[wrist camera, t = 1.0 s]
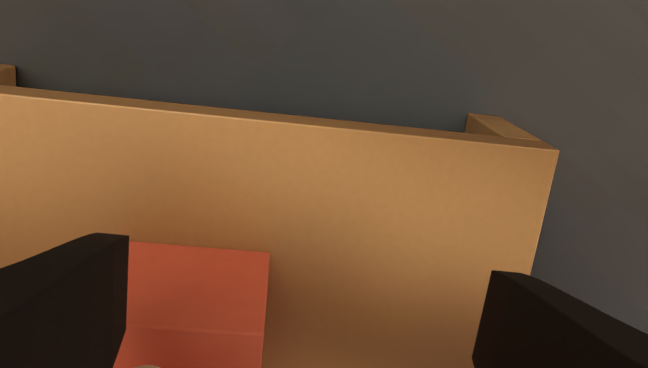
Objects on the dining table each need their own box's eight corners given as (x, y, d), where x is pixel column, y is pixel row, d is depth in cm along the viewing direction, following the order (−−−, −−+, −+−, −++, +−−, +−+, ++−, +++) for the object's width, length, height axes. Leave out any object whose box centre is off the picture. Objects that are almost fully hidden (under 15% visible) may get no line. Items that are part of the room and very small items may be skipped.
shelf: (442, 397, 25) (493, 529, 19) (-5, 369, 23) (-110, 504, 17) (499, 116, 21) (585, 164, 15) (-21, 61, 20) (-162, 90, 14)
